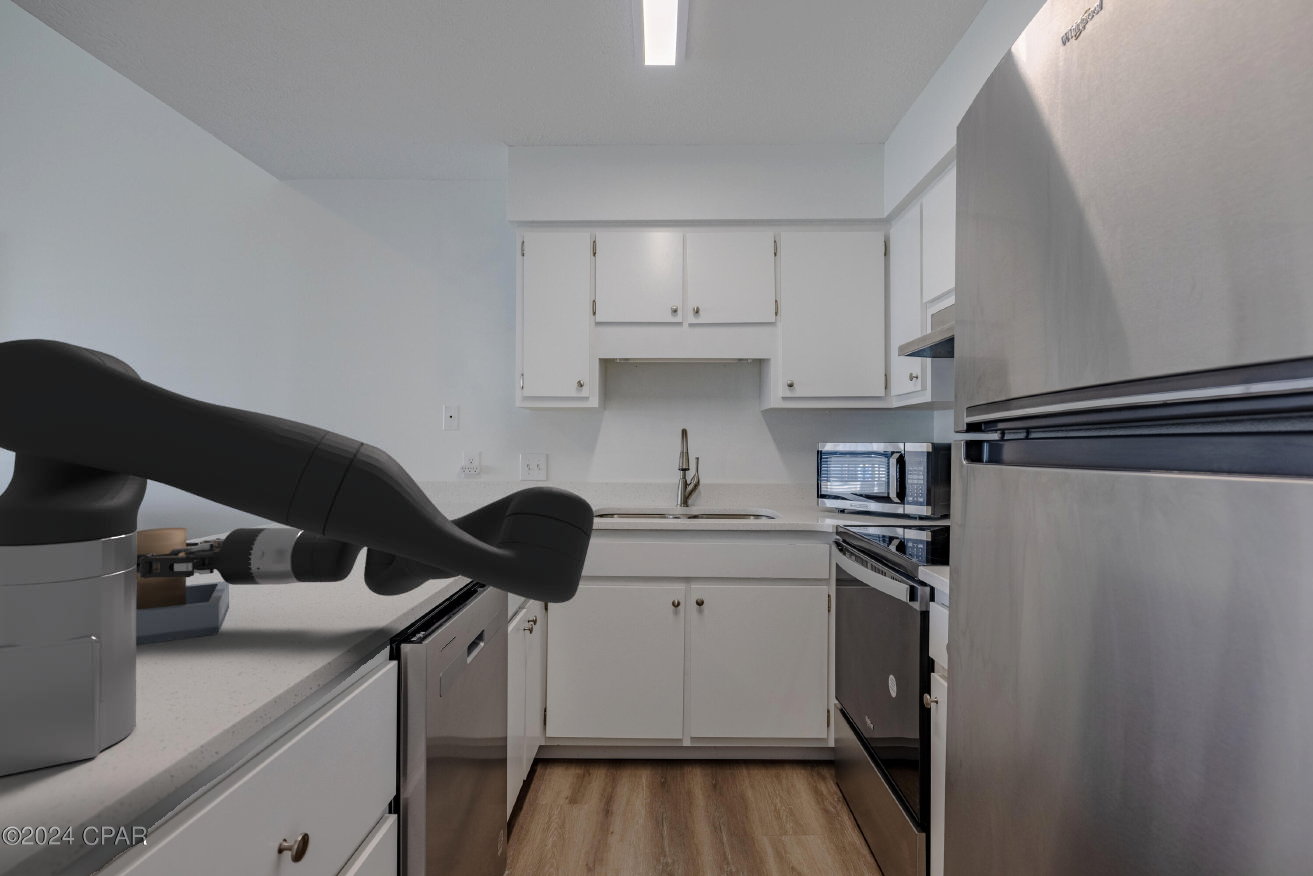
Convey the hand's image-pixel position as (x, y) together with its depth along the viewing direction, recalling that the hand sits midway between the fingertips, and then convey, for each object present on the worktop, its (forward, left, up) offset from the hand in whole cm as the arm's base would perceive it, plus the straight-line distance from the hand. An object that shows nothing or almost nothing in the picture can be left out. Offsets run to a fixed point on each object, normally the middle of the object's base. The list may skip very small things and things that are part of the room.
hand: (145, 556), depth 81 cm
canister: (-1, -2, -8) cm, 9 cm away
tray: (-1, -2, -10) cm, 10 cm away
